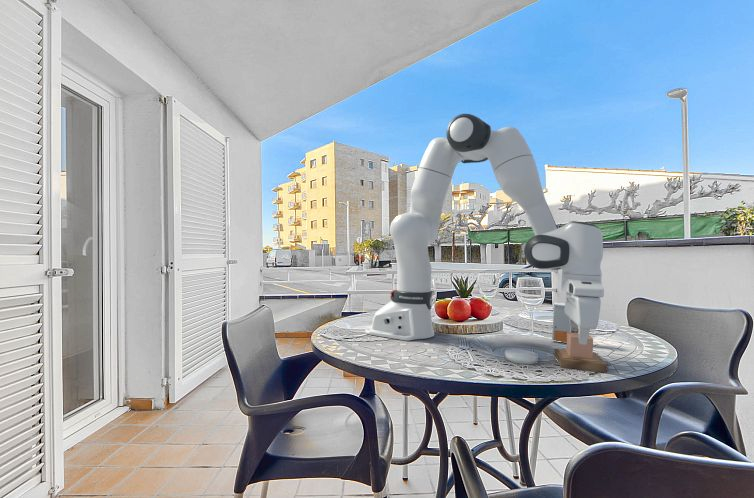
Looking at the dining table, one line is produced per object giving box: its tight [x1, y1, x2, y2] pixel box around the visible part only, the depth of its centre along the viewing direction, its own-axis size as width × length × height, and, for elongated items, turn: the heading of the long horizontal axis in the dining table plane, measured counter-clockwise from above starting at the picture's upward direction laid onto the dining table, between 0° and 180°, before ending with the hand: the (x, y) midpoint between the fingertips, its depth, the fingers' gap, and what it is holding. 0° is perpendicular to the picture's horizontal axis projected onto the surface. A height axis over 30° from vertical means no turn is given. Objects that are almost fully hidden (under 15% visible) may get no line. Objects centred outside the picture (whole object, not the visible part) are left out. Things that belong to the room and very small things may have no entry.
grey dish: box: [504, 348, 538, 365], centre depth 97 cm, size 8×8×2 cm
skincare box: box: [551, 302, 570, 343], centre depth 116 cm, size 6×4×12 cm
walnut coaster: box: [553, 348, 608, 373], centre depth 95 cm, size 10×10×2 cm
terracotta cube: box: [565, 332, 594, 359], centre depth 95 cm, size 5×5×5 cm
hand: (577, 339), depth 95 cm, fingers open, 8 cm apart
